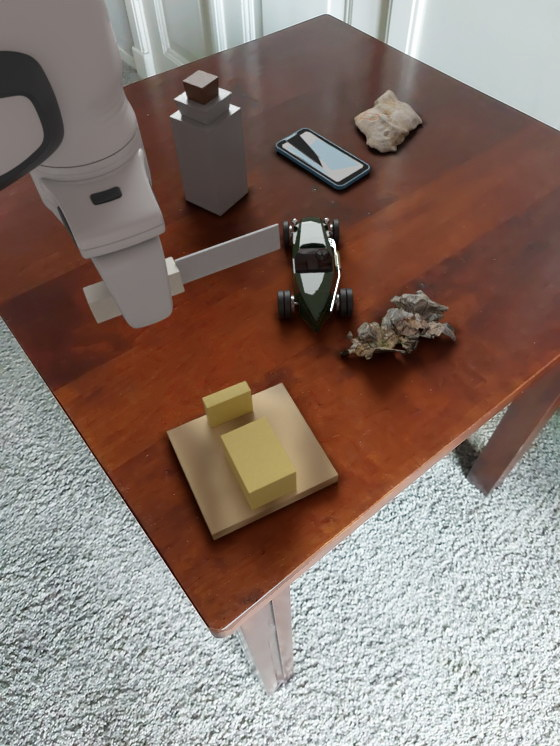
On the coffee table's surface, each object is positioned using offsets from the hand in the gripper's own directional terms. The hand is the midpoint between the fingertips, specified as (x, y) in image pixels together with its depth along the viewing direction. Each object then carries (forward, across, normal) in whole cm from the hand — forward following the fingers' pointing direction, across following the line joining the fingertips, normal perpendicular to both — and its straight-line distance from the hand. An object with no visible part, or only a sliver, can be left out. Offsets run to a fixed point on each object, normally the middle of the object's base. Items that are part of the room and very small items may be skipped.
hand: (133, 289), depth 58 cm
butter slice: (+14, +9, +5) cm, 17 cm away
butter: (+14, +17, +5) cm, 22 cm away
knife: (+2, 0, +6) cm, 6 cm away
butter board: (+16, +14, +5) cm, 22 cm away
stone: (+16, -32, +50) cm, 62 cm away
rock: (+16, +6, +28) cm, 33 cm away
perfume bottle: (+16, -29, +18) cm, 38 cm away
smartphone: (+16, -29, +36) cm, 49 cm away
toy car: (+16, -6, +23) cm, 29 cm away
